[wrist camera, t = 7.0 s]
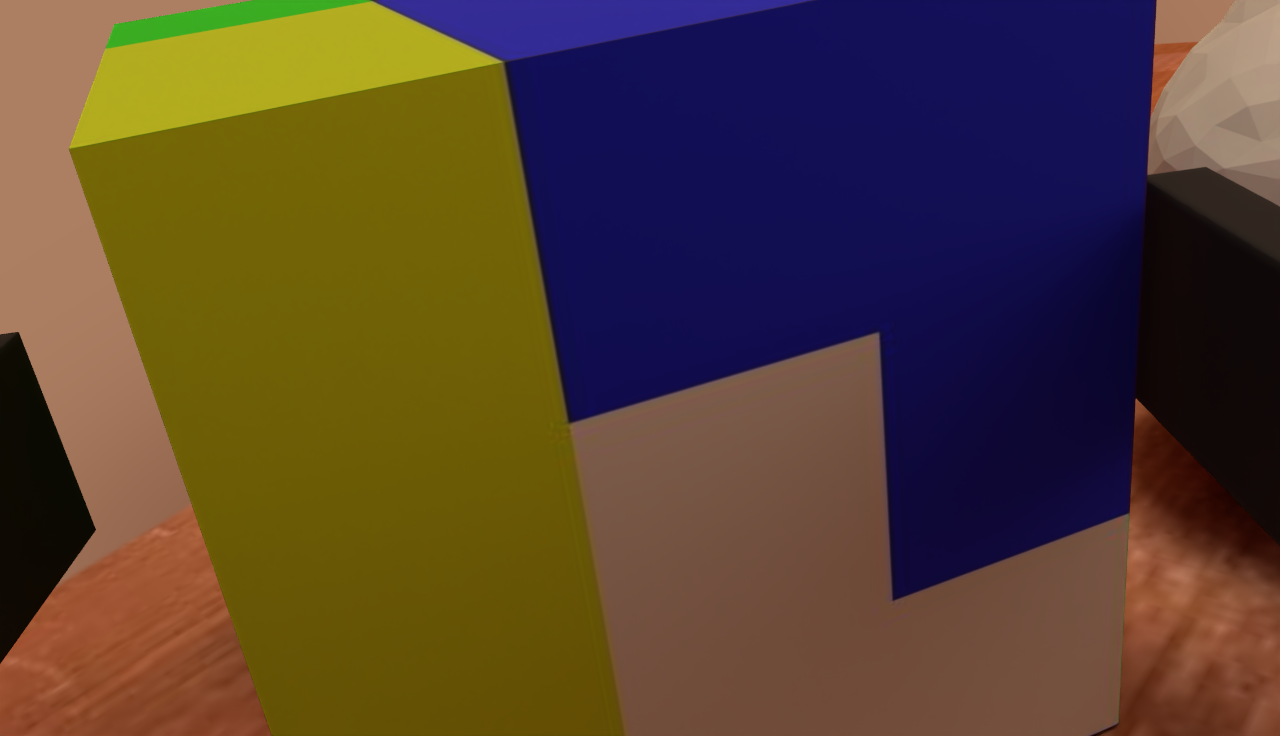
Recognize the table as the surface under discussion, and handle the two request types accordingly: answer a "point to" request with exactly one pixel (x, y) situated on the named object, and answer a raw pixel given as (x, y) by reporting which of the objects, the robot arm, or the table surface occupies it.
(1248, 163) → the white and red skull
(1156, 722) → the table surface
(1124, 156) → the puzzle toy
